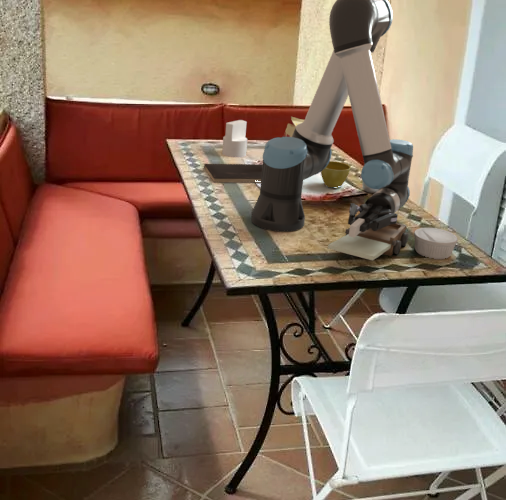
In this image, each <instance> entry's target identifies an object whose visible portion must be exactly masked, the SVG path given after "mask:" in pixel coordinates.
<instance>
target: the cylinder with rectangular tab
mask: <svg viewBox="0 0 506 500" xmlns="http://www.w3.org/2000/svg"><path fill="white" fill-rule="evenodd" d="M247 123H248V122H247V121H246V120H243V119H238V120H233V121H229V122H226V123H225V135H224V136H223V137H222V150H221V154H222V155H223V156H226V157H230V158H243V157H246V156H247V149H248V138H247V137H246V133H247Z"/></svg>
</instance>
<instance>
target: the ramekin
mask: <svg viewBox="0 0 506 500" xmlns="http://www.w3.org/2000/svg"><path fill="white" fill-rule="evenodd" d="M413 236H414V249H415V250H414V251H416V253H417V254H419V255H420V256H422V257H424V256H425V257H424V258H427V257H429V258H428V259H431V258H434V259H433V260H445V258H446V259H448V258H449V257H451V255H452V254H453V251H454V249H455V246H456V244H457V243H458V237H457V236H456V235H455V234H454V233H453V232H451V231H448V230H445V229H441V228H436V227H420V228H417V229H415V230H414V232H413Z"/></svg>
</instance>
